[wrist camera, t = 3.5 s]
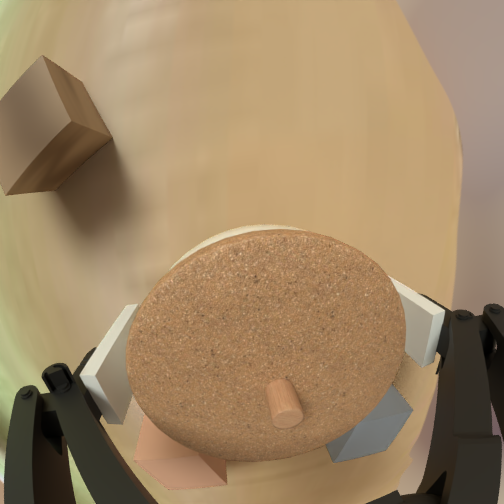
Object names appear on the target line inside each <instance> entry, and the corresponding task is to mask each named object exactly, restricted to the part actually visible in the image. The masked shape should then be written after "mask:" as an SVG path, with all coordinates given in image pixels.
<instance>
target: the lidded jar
mask: <svg viewBox="0 0 504 504" xmlns="http://www.w3.org/2000/svg"><path fill="white" fill-rule="evenodd" d="M405 342H406V321H405V312H404V308H403V305H402V302H401V299H400V295H399V293H398V292H397V290H396V288H395V286H394V284H393V282H392V281H391V279H390V278H389V277H388V275H387V274H386V273H385V272H384V271H383V270H382V269H381V267H380V266H379V265H378V264H377V263H375V262H374V261H373V260H372V259H370V258H369V257H367V256H366V255H365V254H363V253H362V252H361V251H359V250H357V249H355V248H353V247H351V246H349V245H347V244H345V243H343V242H340V241H338V240H336V239H334V238H332V237H328V236H324V235H320V234H316V233H313V232H310V231H307V230H303V229H299V228H295V227H291V226H283V225H270V224H262V225H250V226H243V227H239V228H235V229H231V230H227V231H224V232H222V233H220V234H217V235H215V236H213V237H210V238H208V239H207V240H205V241H203V242H202V243H200V244H199V245H197V246H196V247H194V248H193V249H191V250H190V251H188V252H187V253H186V254H185V255H184V256H183V257H181V258H180V259H179V260H178V261H177V262H176V263H175V264H174V265H173V266H172V267H171V268H170V270H169V271H168V272H167V274H166V275H164V276H163V277H162V278H161V279H160V280H159V281H158V282H157V284H156V285H155V286H154V288H153V289H152V290H151V292H150V293H149V294H148V296H147V297H146V298H145V300H144V301H143V303H142V304H141V306H140V308H139V310H138V312H137V314H136V316H135V319H134V321H133V323H132V325H131V327H130V331H129V335H128V340H127V344H126V371H127V376H128V381H129V385H130V387H131V390H132V392H133V394H134V397H135V399H136V401H137V403H138V404H139V406H140V407H141V409H142V410H143V412H144V413H145V414H146V416H147V417H148V418H149V419H150V420H151V421H152V423H153V424H154V425H155V426H156V427H157V428H158V429H159V430H161V431H162V432H163V433H165V434H166V435H167V436H169V437H170V438H171V439H173V440H175V441H176V442H178V443H180V444H181V445H183V446H185V447H187V448H189V449H192V450H194V451H197V452H199V453H202V454H205V455H208V456H212V457H216V458H220V459H226V460H233V461H248V462H257V461H271V460H277V459H283V458H289V457H292V456H296V455H300V454H303V453H306V452H309V451H311V450H314V449H317V448H319V447H322V446H324V445H326V444H328V443H329V442H331V441H333V440H335V439H337V438H338V437H340V436H342V435H343V434H345V433H346V432H348V431H349V430H351V429H352V428H353V427H355V426H356V425H357V424H358V423H359V422H361V421H362V420H363V419H364V418H365V417H366V416H367V415H368V414H369V413H370V412H371V411H372V410H373V409H374V408H375V407H376V406H377V405H378V403H379V402H380V401H381V399H382V398H383V397H384V395H385V394H386V393H387V391H388V389H389V388H390V386H391V384H392V383H393V381H394V379H395V377H396V375H397V372H398V370H399V367H400V365H401V361H402V358H403V354H404V350H405Z"/></svg>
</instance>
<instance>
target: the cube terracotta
mask: <svg viewBox="0 0 504 504" xmlns="http://www.w3.org/2000/svg"><path fill="white" fill-rule="evenodd" d="M134 461H135V462H136V463H137V464H138V465H139V466H140V467H141V468H143V469H144V470H145V471H146V472H147V473H148V474H150V475H151V476H152V477H153V478H154V479H156V480H157V481H158V482H159V483H160V484H162V485H163V486H164V487H166V488H167V489H168V490H178V489H194V488H205V487H214V486H222V485H227V474H226V460H225V459H220V458H216V457H212V456H208V455H205V454H202V453H199V452H197V451H194V450H192V449H189V448H187V447H185V446H183V445H181V444H180V443H178V442H176V441H175V440H173V439H171V438H170V437H169V436H167V435H166V434H165V433H163V432H162V431H161V430H159V429H158V428H157V427H156V426H155V425H154V424H153V423H152V421H151V420H150V419H149V418H148V417H147V416H146V414H145V415H144V419H143V423H142V426H141V430H140V435H139V439H138V443H137V447H136V451H135V456H134Z"/></svg>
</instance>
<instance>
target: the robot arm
mask: <svg viewBox="0 0 504 504" xmlns="http://www.w3.org/2000/svg"><path fill="white" fill-rule="evenodd" d="M388 277H389V278H390V279H391V281H392V282H393V284H394V286H395V288H396V290H397V292H398V293H399V295H400V299H401V302H402V305H403V308H404V312H405V321H406V342H405V350H404V351H405V352H406V353H407V354H408V355H409V356H410V357H411V358H412V359H413V360H414V361H415V362H416V363H417V364H418V365H419V366H420V367H421V368H422V367H425V366H427V365H429V364H431V363H433V362H434V359H435V355H436V351H437V352H438V353H439V354H440V355H441V357H440V361H439V364H438V368H437V371H436V374H438V372H439V380H438V394H437V404H436V414H435V421H434V428H433V434H432V440H431V446H430V451H429V455H428V460H427V464H426V468H425V472H424V476H423V479H422V482H421V484H420V486H419V488H418V490H417V492H416V493H415V494H407V495H401V496H400V494H399V492H398V490H396V491H394V492H392V493H389V494H387V495H385V496H383V497H380V498H378V499H376V500H373V501H371V502H368V503H366V504H497V502H498V496H499V488H500V476H501V458H502V442H501V437H500V436H499V435H493V434H492V415H491V403H492V406H493V408H494V411H495V414H496V417H497V420H498V423H499V427H500V430H501V434H502V437H503V441H504V308H503V307H502V306H500V305H498V304H488V305H486V306H485V307H484V311H483V315H479V316H474V314H473V313H471V312H469V311H467V310H455V311H453V312H452V311H450V310H449V309H447V308H445V307H444V306H442V305H441V304H439V303H437V302H436V301H434V300H432V299H431V298H429V297H428V296H426V295H423V294H419V293H416V292H415V291H413V290H411V289H410V288H408V287H406V286H405V285H403V284H401V283H400V282H398V281H396V280H395V279H393V278H391V277H390V276H388ZM138 310H139V305H138V304H134V305H126V307H125V308H124V309H123V311H122V312H121V314H120V315H119V316H118V318H117V319H116V321H115V322H114V324H113V325H112V326H111V328H110V329H109V331H108V332H107V334H106V335H105V337H104V338H103V340H102V341H101V343H100V344H99V346H98V347H97V348H93V349H92V350H91V351H89V352H88V353H87V354H86V356H85V357H84V359H83V361H82V362H81V363H80V365H79V366H78V368H77V369H76V371H75V372H74V374H73V375H72V374H71V372H70V370H69V368H68V366H67V365H66V364H64V363H56V364H53V365H51V366H49V367H47V368H46V369H45V370H44V371H43V373H42V379H43V381H44V382H45V384H46V386H47V387H48V389H49V391H50V393H44V394H40V392H39V390H38V389H37V388H36V386H33V385H28V386H24V387H22V388H21V389H20V390H19V391H18V392H17V394H16V396H15V401H14V405H13V410H12V415H11V420H10V426H9V432H8V439H7V448H6V458H5V473H4V504H76V501H75V496H74V491H73V486H72V480H71V473H70V466H69V458H68V448H67V444H68V447H69V449H70V452H71V454H72V457H73V459H74V461H75V464H76V466H77V468H78V470H79V472H80V474H81V476H82V478H83V480H84V482H85V484H86V486H87V488H88V490H89V492H90V494H91V496H92V498H93V499H94V501H95V503H96V504H158V503H157V502H156V500H155V499H154V498H153V497H152V496H151V494H150V493H149V492H148V491H147V490H146V488H145V487H144V486H143V485H142V483H141V482H140V481H139V480H138V478H137V477H136V476H135V474H134V473H133V472H132V470H131V469H130V467H129V466H128V465H127V463H126V462H125V460H124V459H123V457H122V456H121V454H120V453H119V451H118V450H117V448H116V447H115V445H114V444H113V442H112V441H111V439H110V437H109V436H108V434H107V432H106V431H105V429H104V427H103V426H102V424H101V423H100V421H99V420H100V418H101V415H103V417H104V419H105V420H106V422H107V423H109V424H122V425H123V422H124V419H125V416H126V413H127V410H128V407H129V404H130V401H131V398H132V395H133V392H132V390H131V387H130V385H129V381H128V376H127V371H126V344H127V340H128V335H129V331H130V327H131V325H132V323H133V321H134V319H135V316H136V314H137V312H138ZM496 344H497V349H495V347H496Z"/></svg>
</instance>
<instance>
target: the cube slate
mask: <svg viewBox="0 0 504 504" xmlns="http://www.w3.org/2000/svg"><path fill="white" fill-rule="evenodd" d="M412 411H413V409H412V408H411V407H410V405H409V404H408V403H407V402H406V400H405V399H404V398H403V397H402V395H401V394H400V393H399V392H398V390H397V389H396V388H395V387H394V386H393V384H391V386H390V388H389V389H388V391H387V393H386V394H385V395H384V397H383V398H382V399H381V401H380V402H379V403H378V405H377V406H376V407H375V408H374V409H373V410H372V411H371V412H370V413H369V414H368V415H367V416H366V417H365V418H364V419H363V420H362V421H361V422H359V423H358V424H357V425H356V426H355V427H353V428H352V429H351V430H349V431H348V432H346V433H345V434H343V435H342V436H340V437H338V438H337V439H335V440H333V441H331V442H329V443H328V444H326V447H327V449H328V451H329V454H330V456H331V459H332V461H333V463H337V462H342V461H346V460H351V459H355V458H360V457H364V456H367V455H371V454H375V453H378V452H382V451H385V450H387V448H388V447H389V445H390V444H391V443H392V441H393V440H394V439H395V437H396V436H397V434H398V433H399V431H400V430H401V428H402V427H403V425H404V424H405V422H406V421H407V419H408V418H409V416H410V414H411V413H412Z"/></svg>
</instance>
